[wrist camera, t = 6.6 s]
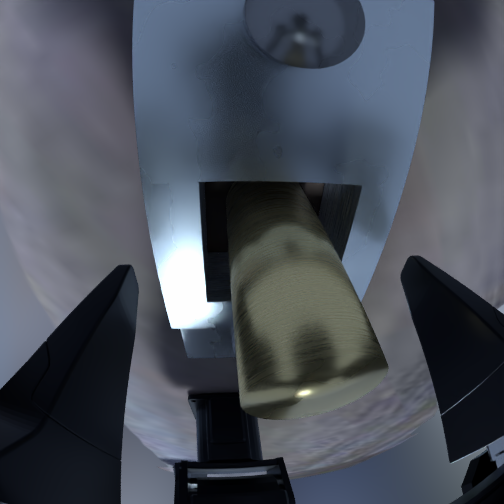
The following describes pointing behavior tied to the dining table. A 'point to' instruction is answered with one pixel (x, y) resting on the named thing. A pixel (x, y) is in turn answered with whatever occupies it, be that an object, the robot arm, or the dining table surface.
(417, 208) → the dining table surface
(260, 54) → the slotted mounting bracket
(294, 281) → the pin
